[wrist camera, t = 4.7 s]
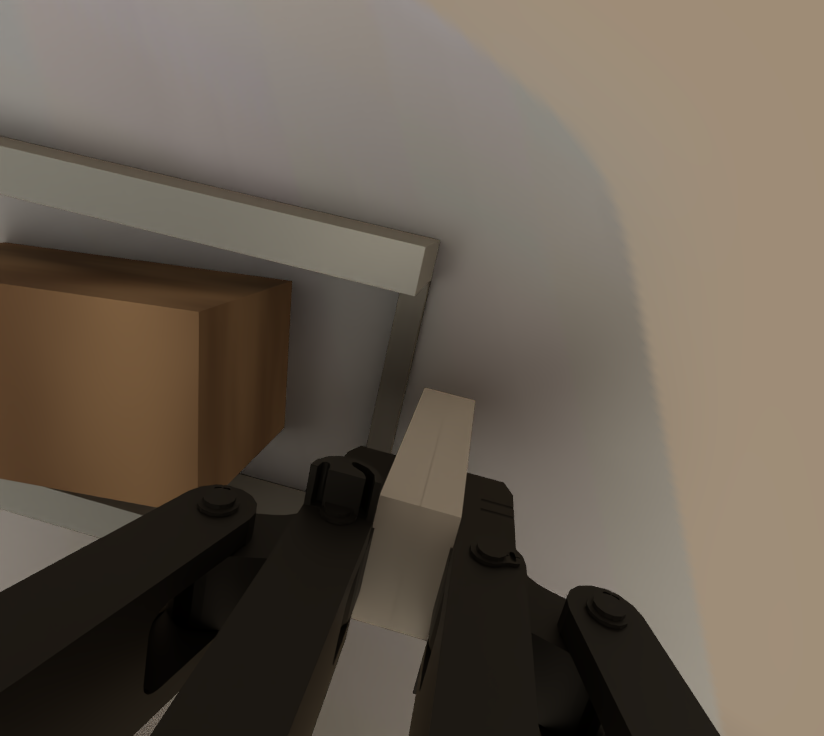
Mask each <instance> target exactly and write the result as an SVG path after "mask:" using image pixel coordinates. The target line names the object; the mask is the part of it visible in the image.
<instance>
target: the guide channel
mask: <svg viewBox="0 0 824 736" xmlns="http://www.w3.org/2000/svg"><path fill="white" fill-rule="evenodd" d="M0 195H5V196H9V197H13V198H17V199H21V200H25V201H29V202H33V203H37V204H41V205H45V206H49V207H53V208H57V209H62V210H66V211H70V212H74V213H78V214H82V215H86V216H90V217H94V218H98V219H102V220H106V221H110V222H115V223H119V224H123V225H127V226H131V227H135V228H139V229H143V230H147V231H151V232H155V233H159V234H163V235H167V236H172V237H176V238H180V239H184V240H188V241H192V242H196V243H200V244H204V245H208V246H212V247H216V248H220V249H224V250H229V251H233V252H237V253H241V254H245V255H249V256H253V257H257V258H261V259H265V260H269V261H273V262H277V263H281V264H286V265H290V266H294V267H298V268H302V269H306V270H310V271H314V272H318V273H322V274H326V275H330V276H334V277H338V278H343V279H347V280H351V281H355V282H359V283H363V284H367V285H371V286H375V287H379V288H383V289H387V290H391V291H396V292H400V293H399V297H398V302H397V306H396V311H395V316H394V320H393V325H392V330H391V334H390V339H389V344H388V348H387V353H386V358H385V362H384V367H383V371H382V376H381V381H380V385H379V390H378V395H377V399H376V404H375V409H374V413H373V418H372V423H371V427H370V432H369V436H368V441H367V446H366V447H368V448H371V449H375V450H379V451H382V452H386V453H390V454H391V452H392V448H393V444H394V439H395V435H396V431H397V426H398V422H399V418H400V413H401V409H402V405H403V400H404V396H405V392H406V387H407V383H408V378H409V374H410V370H411V365H412V361H413V357H414V352H415V348H416V344H417V339H418V335H419V331H420V326H421V322H422V318H423V313H424V309H425V305H426V300H427V296H428V292H429V287H430V283H431V281H430V280H431V279H432V274H433V270H434V266H435V261H436V257H437V253H438V248H439V244H440V240H437V239H433V238H428V237H424V236H420V235H416V234H412V233H407V232H403V231H399V230H395V229H390V228H386V227H382V226H378V225H374V224H369V223H365V222H361V221H357V220H352V219H348V218H344V217H340V216H335V215H331V214H327V213H323V212H319V211H314V210H310V209H306V208H302V207H297V206H293V205H289V204H285V203H281V202H276V201H272V200H268V199H264V198H259V197H255V196H251V195H247V194H243V193H238V192H234V191H230V190H226V189H221V188H217V187H213V186H209V185H204V184H200V183H196V182H192V181H188V180H183V179H179V178H175V177H171V176H166V175H162V174H158V173H154V172H150V171H145V170H141V169H137V168H133V167H128V166H124V165H120V164H116V163H112V162H107V161H103V160H99V159H95V158H90V157H86V156H82V155H78V154H73V153H69V152H65V151H61V150H57V149H52V148H48V147H44V146H40V145H35V144H31V143H27V142H23V141H19V140H14V139H10V138H6V137H2V136H0ZM228 486H232V487H235V488H238V489H242V490H244V491H245V492H247V493H248V494H250V495H251V496H253V498H254V500H255V501H256V503H257V509H256V513H257V514H270V515H289V514H296V513H298V511H299V510H300V508H301V507H302V505H303V504H304V499H305V494H306V492H303V491H300V490H296V489H292V488H289V487H285V486H282V485H278V484H274V483H271V482H267V481H264V480H260V479H256V478H253V477H249V476H246V475H242V474H238V475H237V476H236V477H235V478H234V479H233V480H232V481H231V482H230V483H229V484H228ZM156 508H157V507H151V506H146V505H141V504H135V503H130V502H124V501H119V500H113V499H108V498H102V497H97V496H92V495H86V494H81V493H75V492H70V491H64V490H59V489H54V488H48V487H43V486H37V485H32V484H26V483H21V482H15V481H10V480H5V479H0V509H2V510H5V511H9V512H12V513H16V514H19V515H22V516H26V517H29V518H33V519H36V520H40V521H43V522H46V523H50V524H53V525H57V526H60V527H63V528H67V529H70V530H74V531H77V532H80V533H84V534H87V535H91V536H94V537H97V538H102V537H104V536H106V535H107V534H109V533H111V532H113V531H115V530H117V529H118V528H120V527H122V526H124V525H126V524H128V523H130V522H131V521H133V520H135V519H137V518H139V517H141V516H143V515H144V514H146V513H148V512H150V511H152V510H154V509H156Z"/></svg>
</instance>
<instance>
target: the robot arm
mask: <svg viewBox="0 0 824 736" xmlns="http://www.w3.org/2000/svg"><path fill="white" fill-rule="evenodd" d="M474 407H475V400H471V399H467V398H464V397H460V396H456V395H452V394H448V393H444V392H440V391H437V390H433V389H429V388H424V391H423V393H422V395H421V398H420V400H419V403H418V405H417V407H416V410H415V412H414V414H413V417H412V419H411V422H410V424H409V426H408V429H407V431H406V434H405V436H404V438H403V441H402V443H401V446H400V448H399V450H398V453H397V455H393V454H390V453H386V452H382V451H379V450H375V449H371V448H368V447H364V446H360V447H358V448H355V449H353V450H351V451H349V452H347V454H346V455H345V457H343V456H328V457H324V458H320V459H317V460H316V461H315V462H313V463H312V464H311V467H310V472H309V478H308V483H307V488H306V494H305V499H304V504H303V505H302V507H301V508H300V510H299V511H298V513H296V514H289V515H270V514H257V513H256V509H257V503H256V501H255V500H254V498H253V496H251V495H250V494H248V493H247V492H245V491H244V490H242V489H238V488H235V487H232V486H228V485H218V484H215V485H208V486H200V487H198V488H195V489H192V490H189V491H187V492H185V493H183V494H182V495H180V496H178V497H176V498H174V499H172V500H170V501H169V502H167V503H165V504H163V505H161V506H159V507H157V508H156V509H154V510H152V511H150V512H148V513H146V514H144V515H143V516H141V517H139V518H137V519H135V520H133V521H131V522H130V523H128V524H126V525H124V526H122V527H120V528H118V529H117V530H115V531H113V532H111V533H109V534H107V535H106V536H104V537H102V538H100V539H98V540H96V541H94V542H93V543H91V544H89V545H87V546H85V547H83V548H81V549H80V550H78V551H76V552H74V553H72V554H70V555H68V556H67V557H65V558H63V559H61V560H59V561H57V562H55V563H54V564H52V565H50V566H48V567H46V568H44V569H42V570H41V571H39V572H37V573H35V574H33V575H31V576H29V577H28V578H26V579H24V580H22V581H20V582H18V583H16V584H15V585H13V586H11V587H9V588H7V589H5V590H3V591H2V592H0V736H133V735H134V734H135V733H136V732H137V731H138V730H139V729H140V728H141V727H143V726H144V725H145V724H146V723H147V722H148V721H149V720H150V719H151V718H152V717H153V716H154V715H155V714H156V713H157V712H158V711H159V710H160V709H161V708H162V707H163V706H164V705H165V704H166V703H167V702H168V701H170V700H171V699H172V698H173V697H174V696H175V695H176V694H177V693H178V692H179V693H178V694H177V696H176V697H175V699H174V700H173V702H172V703H171V705H170V706H169V708H168V709H167V711H166V712H165V714H164V715H163V717H162V718H161V720H160V721H159V723H158V724H157V726H156V727H155V729H154V730H153V732H152V733H151V735H150V736H312V733H313V730H314V727H315V724H316V721H317V719H318V716H319V713H320V710H321V707H322V704H323V702H324V699H325V696H326V693H327V690H328V687H329V685H330V682H331V679H332V676H333V673H334V670H335V668H336V665H337V662H338V659H339V656H340V653H341V651H342V648H343V645H344V642H345V639H346V635H347V631H348V627H349V622H350V618H351V615H352V618H351V619H355V620H358V621H361V622H365V623H368V624H372V625H375V626H378V627H382V628H385V629H389V630H392V631H395V632H399V633H402V634H405V635H409V636H412V637H416V638H419V639H422V640H426V641H427V644H426V647H425V651H424V655H423V658H422V662H421V665H420V669H419V672H418V676H417V679H416V683H415V686H414V690H413V694H416V697H415V703H414V709H413V714H412V720H411V726H410V732H409V736H720V734H719V733H718V731H717V730H716V728H715V727H714V725H713V724H712V722H711V721H710V719H709V718H708V716H707V714H706V713H705V711H704V710H703V708H702V707H701V705H700V704H699V702H698V701H697V699H696V698H695V696H694V695H693V693H692V691H691V690H690V688H689V687H688V685H687V684H686V682H685V681H684V679H683V678H682V676H681V675H680V673H679V671H678V670H677V668H676V667H675V665H674V664H673V662H672V661H671V659H670V658H669V656H668V655H667V653H666V652H665V650H664V648H663V647H662V645H661V644H660V642H659V641H658V639H657V638H656V636H655V635H654V633H653V632H652V630H651V628H650V627H649V625H648V624H647V622H646V621H645V619H644V618H643V616H642V615H641V614H640V613H639V612H638V611H637V610H636V608H635V607H634V606H633V605H631V604H630V603H629V602H627V601H626V600H624V599H623V598H622V597H621V596H619V595H617V594H615V593H614V592H613V593H612V592H611V591H609V590H606V589H603V588H599V587H595V586H577V587H575V588H573V589H571V590H570V591H569V594H568V596H567V598H566V599H564V598H562V597H561V596H559V595H557V594H555V593H553V592H551V591H549V590H547V589H545V588H543V587H542V586H540V585H538V584H537V583H536V582H534V581H533V580H532V579H531V578H529V577H528V576H527V570H526V564H525V561H524V559H523V556H522V555H521V554H520V553H519V552H518V551H517V550H516V544H515V526H514V510H513V495H512V493H511V492H510V491H509V489H508V488H507V487H506V485H505V484H504V483H503V482H499V481H496V480H492V479H488V478H485V477H481V476H477V475H473V474H470V473H467V467H468V458H469V450H470V441H471V433H472V424H473V416H474ZM352 612H353V613H352ZM428 635H429V637H428ZM427 638H428V640H427Z"/></svg>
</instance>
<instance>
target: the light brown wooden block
mask: <svg viewBox="0 0 824 736" xmlns="http://www.w3.org/2000/svg"><path fill="white" fill-rule="evenodd" d="M291 292H292V281H288V280H281V279H274V278H266V277H259V276H251V275H244V274H236V273H229V272H222V271H214V270H207V269H199V268H192V267H184V266H177V265H169V264H162V263H155V262H147V261H140V260H132V259H125V258H117V257H110V256H102V255H95V254H88V253H80V252H73V251H65V250H58V249H50V248H43V247H35V246H28V245H21V244H13V243H6V242H5V243H0V479H5V480H10V481H15V482H21V483H26V484H32V485H37V486H43V487H48V488H54V489H59V490H64V491H70V492H75V493H81V494H86V495H92V496H97V497H102V498H108V499H113V500H119V501H124V502H130V503H135V504H141V505H146V506H151V507H159V506H161V505H163V504H165V503H167V502H169V501H170V500H172V499H174V498H176V497H178V496H180V495H182V494H183V493H185V492H187V491H189V490H192V489H195V488H198V487H200V486H208V485H215V484H218V485H228V484H229V483H230V482H231V481H232V480H233V479H234V478H235V477H236V476H237V475H238V474H239V473H240V472H241V471H242V470H243V469H244V468H245V467H246V466H247V465H248V464H249V463H250V462H251V461H252V460H253V459H254V458H255V457H256V456H257V455H258V454H259V453H260V452H261V451H262V450H263V449H264V448H265V447H266V446H267V445H268V444H269V443H270V441H271V440H272V439H273V438H274V437H275V436H276V435H277V434H278V433H279V432H280V431H281V430H282V429H283V428H284V425H285V406H286V387H287V368H288V349H289V330H290V311H291Z"/></svg>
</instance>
